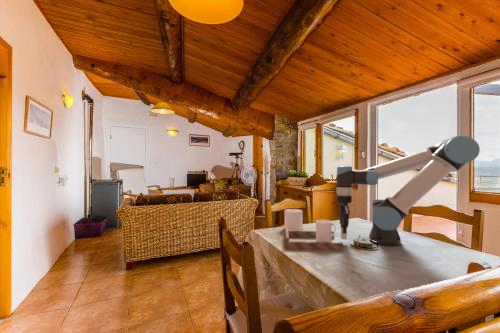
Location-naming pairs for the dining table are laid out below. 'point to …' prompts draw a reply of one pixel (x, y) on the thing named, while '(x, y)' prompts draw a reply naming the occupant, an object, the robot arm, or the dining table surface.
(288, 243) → the brown rectangular tray
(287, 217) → the cup
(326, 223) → the mug
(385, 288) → the dining table surface
